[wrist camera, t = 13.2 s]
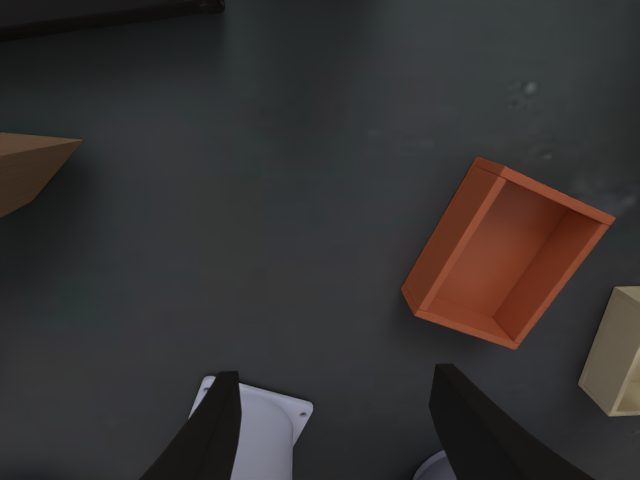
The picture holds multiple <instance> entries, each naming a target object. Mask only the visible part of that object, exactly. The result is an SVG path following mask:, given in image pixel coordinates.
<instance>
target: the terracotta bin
mask: <svg viewBox="0 0 640 480" xmlns="http://www.w3.org/2000/svg"><path fill="white" fill-rule="evenodd" d="M614 220H615V217H613V216H611V215H609V214H606V213H604V212H602V211H600V210H598V209H596V208H594V207H591V206H589V205H587V204H585V203H583V202H581V201H579V200H576V199H574V198H572V197H570V196H568V195H566V194H564V193H561V192H559V191H557V190H555V189H553V188H551V187H548V186H546V185H544V184H542V183H540V182H538V181H536V180H533V179H531V178H529V177H527V176H525V175H523V174H521V173H518V172H516V171H514V170H512V169H510V168H508V167H505V166H503V165H500V164H497V163H494V162H492V161H489V160H486V159H483V158H480V157H478V156H477V157H476V158H475V160H474V162H473V164H472V165H471V167H470V169H469V170H468V172H467V174H466V176H465V177H464V179H463V181H462V183H461V184H460V186H459V188H458V190H457V191H456V193H455V195H454V197H453V198H452V200H451V202H450V204H449V205H448V207H447V209H446V211H445V212H444V214H443V216H442V218H441V219H440V221H439V223H438V225H437V226H436V228H435V230H434V232H433V233H432V235H431V237H430V239H429V240H428V242H427V244H426V246H425V247H424V249H423V251H422V253H421V254H420V256H419V258H418V260H417V261H416V263H415V265H414V267H413V268H412V270H411V272H410V274H409V275H408V277H407V279H406V281H405V282H404V284H403V286H402V288H401V291H402V293H403V295H404V297H405V299H406V301H407V303H408V305H409V306H410V308H411V310H412V312H413V314H414V316H417V317H420V318H422V319H425V320H428V321H431V322H434V323H437V324H440V325H443V326H446V327H449V328H452V329H455V330H458V331H461V332H464V333H467V334H470V335H472V336H475V337H478V338H481V339H484V340H487V341H490V342H493V343H496V344H499V345H502V346H505V347H508V348H511V349H514V350H516V349H517V347H518V346H519V343H521V342H522V341H523V339H524V338H525V337H526V335H527V334H528V333H529V331H530V330H531V329H532V327H533V326H534V325H535V324H536V322H537V321H538V320H539V318H540V317H541V316H542V314H543V313H544V312H545V310H546V309H547V308H548V306H549V305H550V304H551V303H552V301H553V300H554V299H555V297H556V296H557V295H558V293H559V292H560V291H561V289H562V288H563V287H564V285H565V284H566V283H567V282H568V280H569V279H570V278H571V276H572V275H573V274H574V272H575V271H576V270H577V268H578V267H579V266H580V264H581V263H582V262H583V261H584V259H585V258H586V257H587V255H588V254H589V253H590V251H591V250H592V249H593V247H594V246H595V245H596V243H597V242H598V241H599V240H600V238H601V237H602V236H603V234H604V233H605V232H606V230H607V229H608V228H609V226H610V225H611V224H612V223H613V221H614Z"/></svg>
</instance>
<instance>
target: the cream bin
mask: <svg viewBox="0 0 640 480" xmlns="http://www.w3.org/2000/svg"><path fill="white" fill-rule="evenodd" d="M578 385H579V386H580V387H581V388H582V389H583V390H584V391H585V392H586V393H587V394H588V395H589V396H590V397H591V398H592V399H593V400H594V402H595V403H596V404H597V405H598V406H599V407H600V408H601V409H602V410H603V411H604V412H605V413H606V414H607V415H608V416H627V415H640V286H623V287H614V289H613V291H612V294H611V297H610V299H609V302H608V305H607V307H606V310H605V313H604V315H603V318H602V321H601V323H600V326H599V329H598V331H597V334H596V336H595V339H594V342H593V344H592V347H591V350H590V352H589V355H588V358H587V360H586V363H585V366H584V368H583V371H582V374H581V376H580V379H579V382H578Z"/></svg>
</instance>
